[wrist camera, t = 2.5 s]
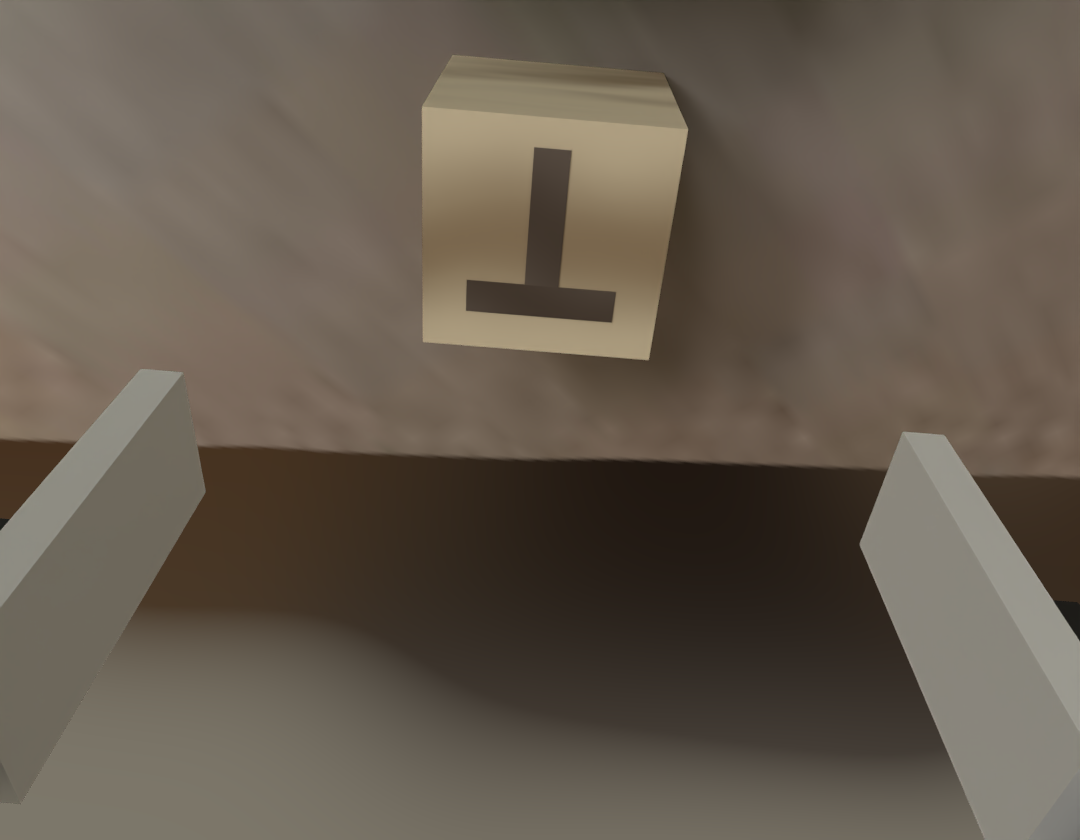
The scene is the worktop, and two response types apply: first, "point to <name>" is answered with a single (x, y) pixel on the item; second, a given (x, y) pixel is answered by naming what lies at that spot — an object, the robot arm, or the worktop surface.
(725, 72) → the worktop surface
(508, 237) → the letter cube
